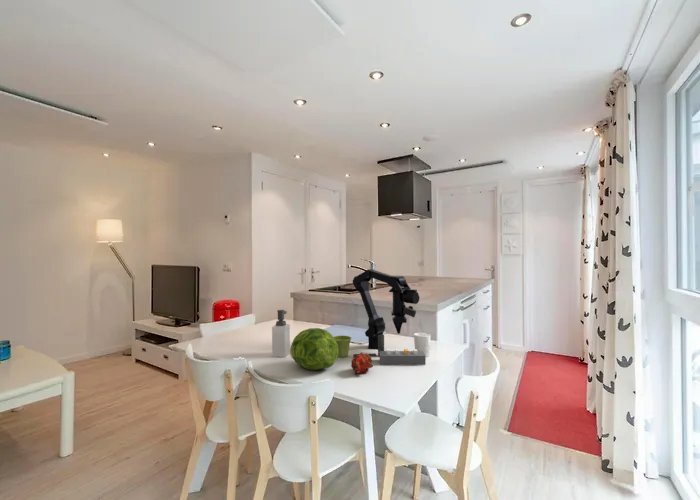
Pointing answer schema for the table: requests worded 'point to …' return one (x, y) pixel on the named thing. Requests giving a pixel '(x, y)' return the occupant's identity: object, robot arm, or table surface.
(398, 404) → the table surface
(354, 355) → the dark grey thin rod
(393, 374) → the table surface
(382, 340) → the post
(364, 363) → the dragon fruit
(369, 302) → the robot arm
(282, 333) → the soap dispenser
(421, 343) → the white cup
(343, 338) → the plant pot
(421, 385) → the table surface
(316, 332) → the lettuce
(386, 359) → the breaker strip
